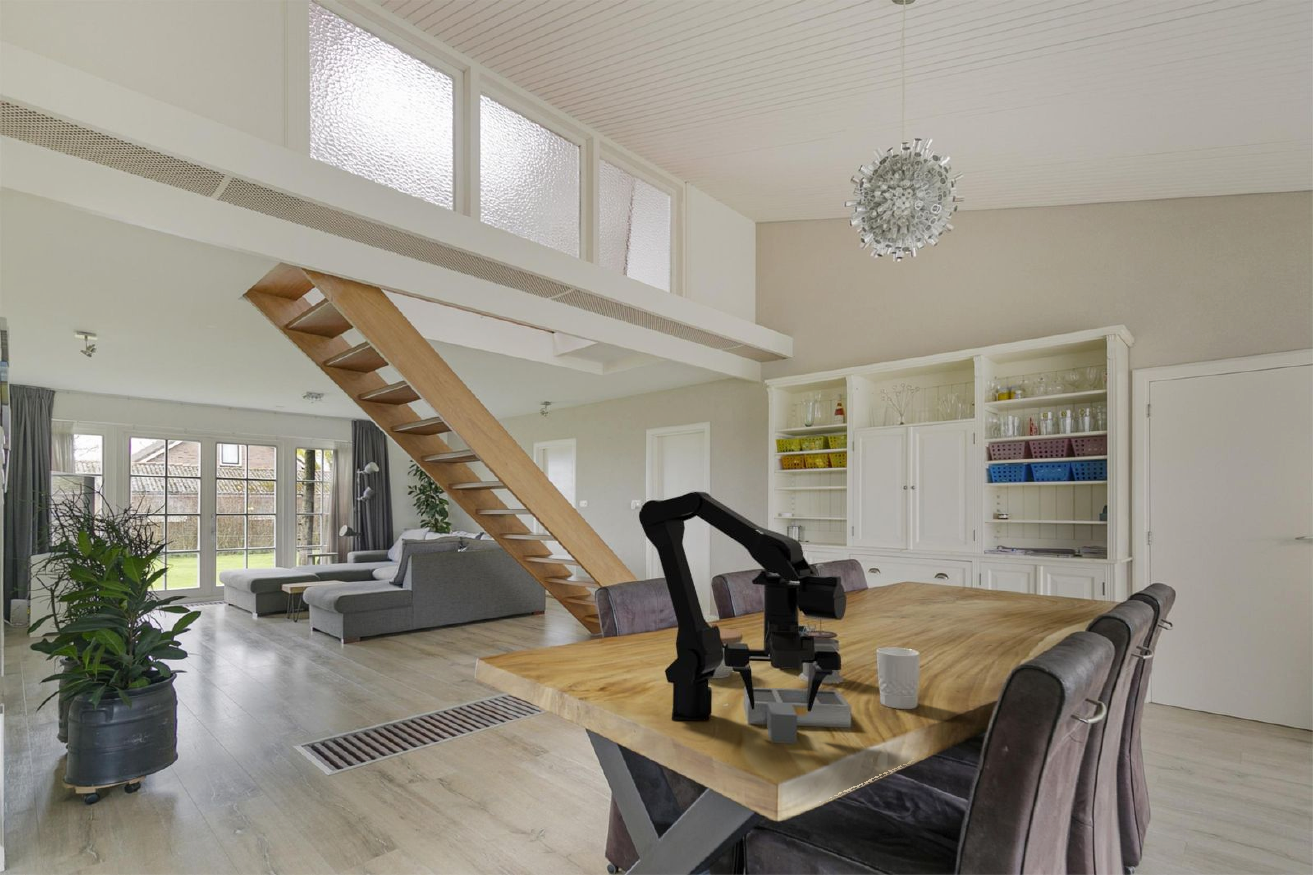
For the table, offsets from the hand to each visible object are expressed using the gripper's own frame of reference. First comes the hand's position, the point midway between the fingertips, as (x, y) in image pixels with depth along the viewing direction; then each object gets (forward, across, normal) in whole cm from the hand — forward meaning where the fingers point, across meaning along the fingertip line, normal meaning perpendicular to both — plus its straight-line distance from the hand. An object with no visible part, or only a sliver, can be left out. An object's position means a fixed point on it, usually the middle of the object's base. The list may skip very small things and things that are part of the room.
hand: (780, 709), depth 114 cm
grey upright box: (+4, 0, 0) cm, 4 cm away
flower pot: (+4, +8, +50) cm, 51 cm away
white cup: (+4, +25, +21) cm, 33 cm away
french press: (+4, +13, +39) cm, 41 cm away
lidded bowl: (+4, -10, +40) cm, 41 cm away
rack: (+4, +4, +11) cm, 12 cm away
